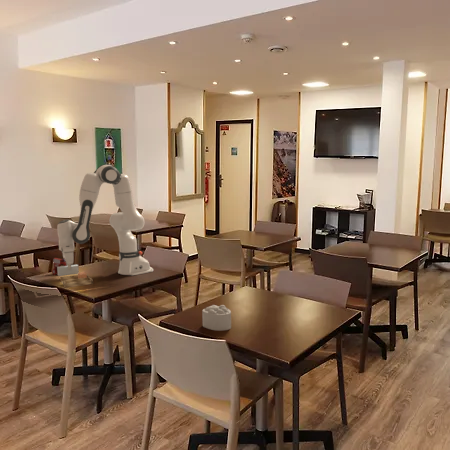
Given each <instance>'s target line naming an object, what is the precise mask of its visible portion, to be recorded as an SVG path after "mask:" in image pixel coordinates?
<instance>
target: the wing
mask: <svg viewBox="0 0 450 450" xmlns="http://www.w3.org/2000/svg"><path fill="white" fill-rule="evenodd" d="M86 274H87V273H86V272H85V271H81V272H79V273H78V274H77V275H78V279H79V278H86V277H87V275H86Z"/></svg>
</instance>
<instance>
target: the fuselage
mask: <svg viewBox="0 0 450 450" xmlns="http://www.w3.org/2000/svg"><path fill="white" fill-rule="evenodd" d="M57 271H58V275H57V276H58V277H65V276H73V275H78V273H80V272H79V271H80V270H79V264H71V269H70V270H68V266H60V267H57Z"/></svg>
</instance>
